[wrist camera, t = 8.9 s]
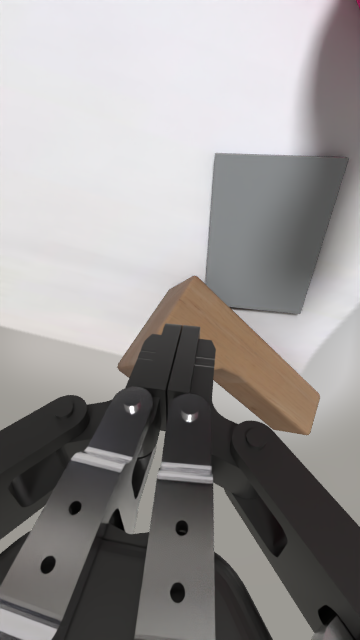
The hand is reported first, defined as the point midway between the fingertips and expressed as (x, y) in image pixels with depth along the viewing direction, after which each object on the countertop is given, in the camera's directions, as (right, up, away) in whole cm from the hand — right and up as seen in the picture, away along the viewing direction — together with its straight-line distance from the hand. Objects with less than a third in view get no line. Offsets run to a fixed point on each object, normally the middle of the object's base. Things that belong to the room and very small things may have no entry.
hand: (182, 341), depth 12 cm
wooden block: (-2, +1, +10) cm, 11 cm away
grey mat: (+6, +7, +10) cm, 14 cm away
